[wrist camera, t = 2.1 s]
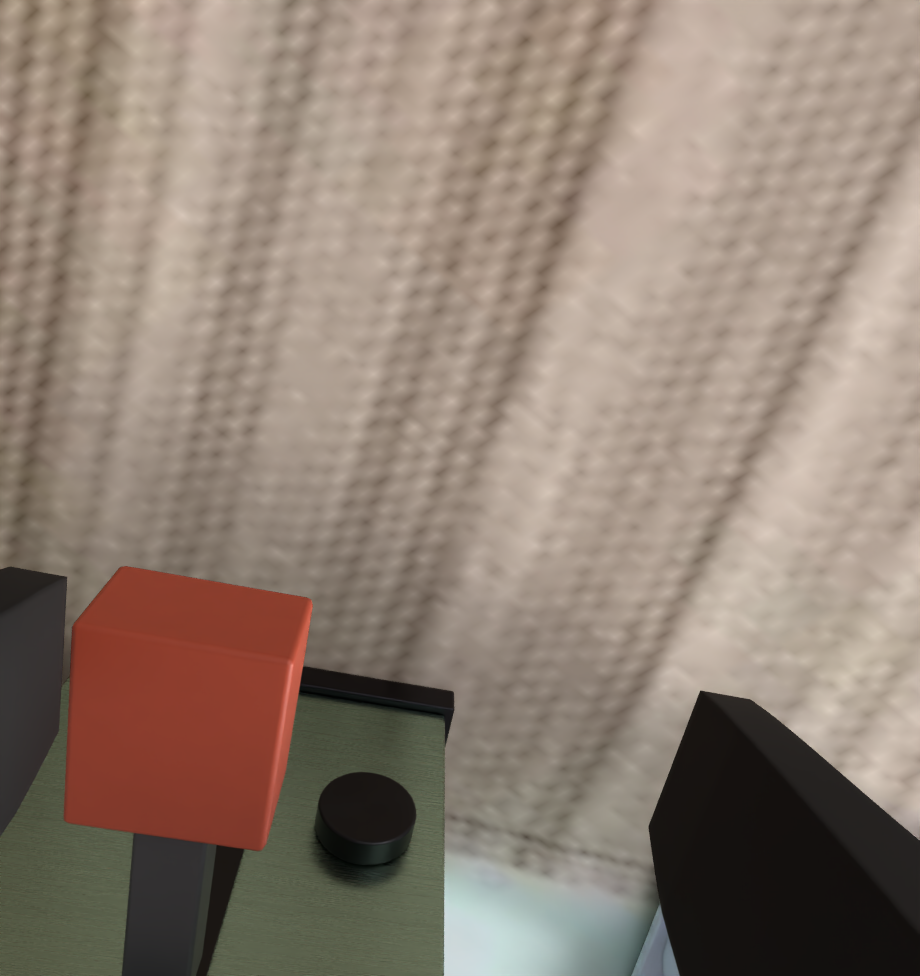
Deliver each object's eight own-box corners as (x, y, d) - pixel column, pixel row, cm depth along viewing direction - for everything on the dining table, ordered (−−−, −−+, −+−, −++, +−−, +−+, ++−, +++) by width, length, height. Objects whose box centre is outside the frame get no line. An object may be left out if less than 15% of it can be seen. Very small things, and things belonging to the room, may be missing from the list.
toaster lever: (120, 562, 11) (68, 623, 10) (314, 595, 11) (294, 661, 10) (95, 920, 13) (51, 1014, 12) (258, 941, 14) (234, 1038, 12)
